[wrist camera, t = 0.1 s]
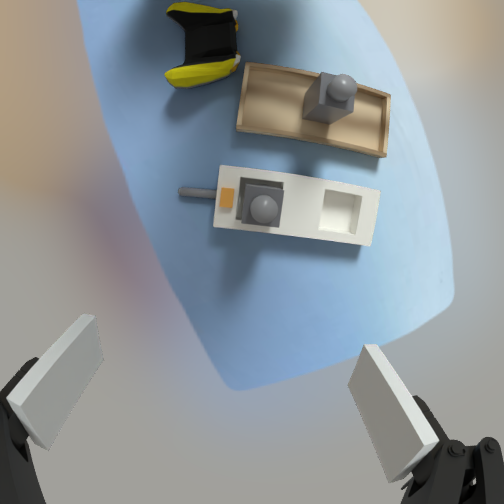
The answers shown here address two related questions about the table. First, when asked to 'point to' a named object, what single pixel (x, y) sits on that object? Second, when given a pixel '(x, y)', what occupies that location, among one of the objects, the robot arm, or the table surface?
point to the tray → (291, 111)
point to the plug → (329, 98)
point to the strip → (297, 205)
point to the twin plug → (262, 205)
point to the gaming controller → (204, 44)
